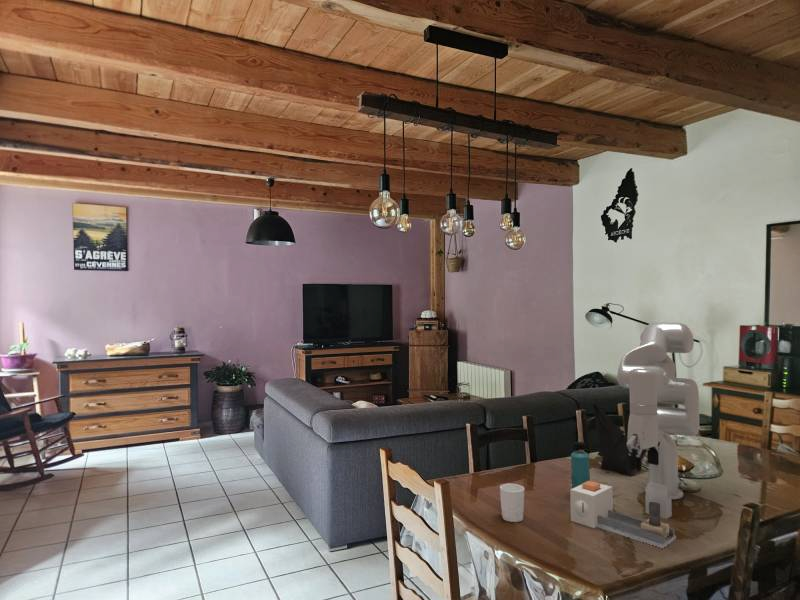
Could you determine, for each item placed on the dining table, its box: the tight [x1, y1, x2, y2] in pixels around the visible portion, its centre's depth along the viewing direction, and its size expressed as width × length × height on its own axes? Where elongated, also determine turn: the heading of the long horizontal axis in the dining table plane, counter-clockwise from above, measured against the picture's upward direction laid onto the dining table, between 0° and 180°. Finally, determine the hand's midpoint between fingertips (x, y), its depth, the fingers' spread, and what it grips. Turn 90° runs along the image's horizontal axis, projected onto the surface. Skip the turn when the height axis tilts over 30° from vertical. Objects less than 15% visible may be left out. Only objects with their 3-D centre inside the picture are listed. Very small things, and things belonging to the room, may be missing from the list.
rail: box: [596, 510, 677, 549], centre depth 157 cm, size 9×20×3 cm, turn 41°
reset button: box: [582, 480, 601, 492], centre depth 168 cm, size 4×4×4 cm
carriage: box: [641, 502, 670, 538], centre depth 152 cm, size 5×6×9 cm
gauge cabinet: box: [569, 483, 614, 529], centre depth 167 cm, size 12×8×10 cm, turn 131°
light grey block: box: [644, 481, 673, 520], centre depth 170 cm, size 4×7×10 cm, turn 39°
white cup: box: [499, 483, 525, 523], centre depth 170 cm, size 8×8×10 cm
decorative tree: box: [592, 403, 648, 477], centre depth 214 cm, size 15×15×35 cm
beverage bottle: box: [570, 441, 591, 489], centre depth 186 cm, size 6×7×20 cm
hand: (644, 466), depth 155 cm, fingers open, 9 cm apart
